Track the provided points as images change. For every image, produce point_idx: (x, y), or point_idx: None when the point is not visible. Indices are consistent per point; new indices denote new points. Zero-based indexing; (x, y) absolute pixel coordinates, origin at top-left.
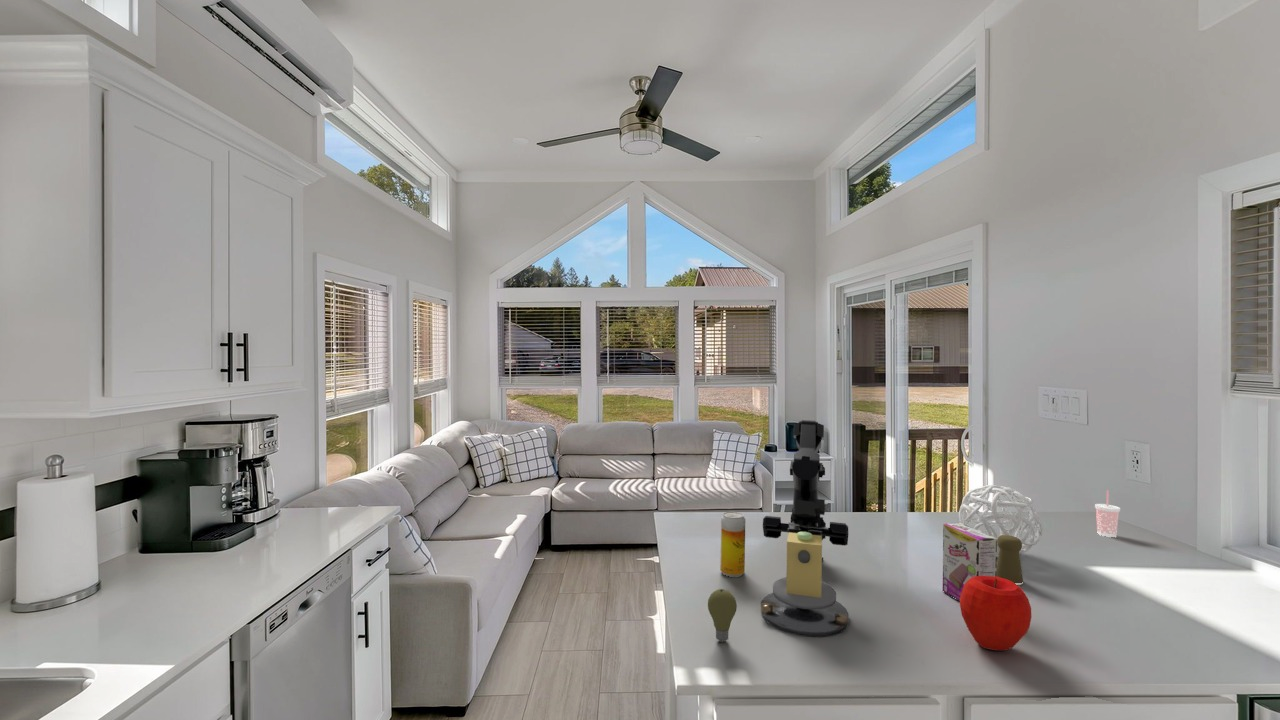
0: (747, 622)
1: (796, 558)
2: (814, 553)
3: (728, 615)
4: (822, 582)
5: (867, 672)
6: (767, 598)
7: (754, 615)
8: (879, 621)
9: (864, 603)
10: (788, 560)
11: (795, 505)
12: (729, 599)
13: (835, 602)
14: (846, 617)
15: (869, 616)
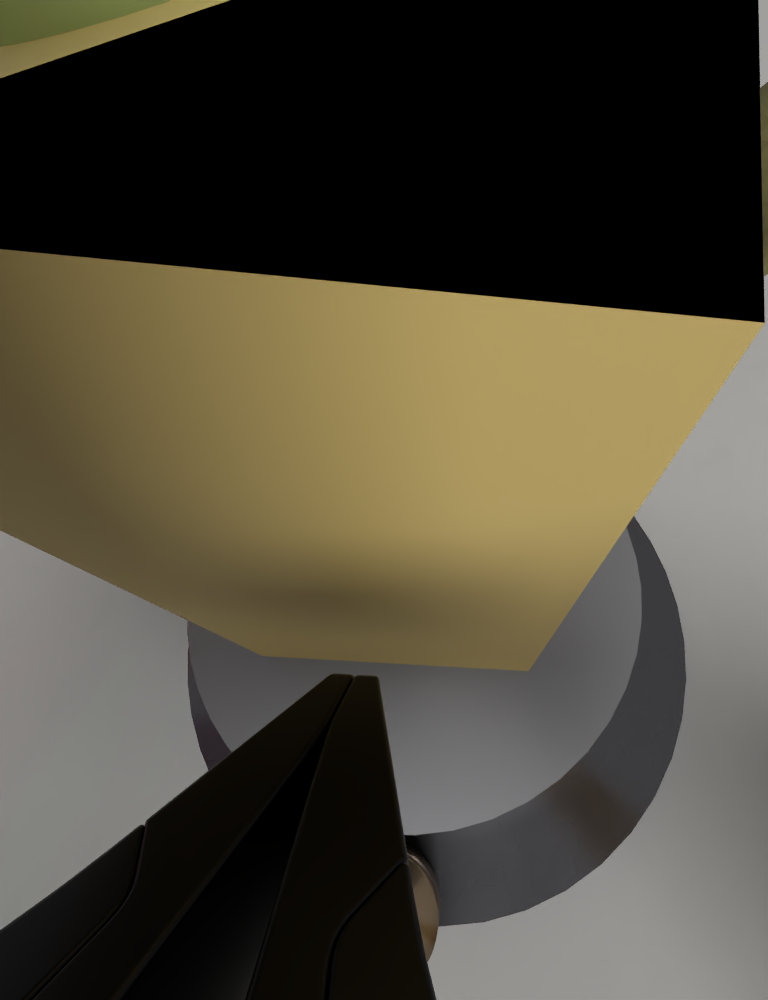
0: (673, 460)
1: (427, 218)
2: (192, 147)
3: None
4: (236, 728)
5: None
6: (654, 676)
7: (667, 534)
8: (79, 650)
9: (35, 893)
10: (521, 242)
11: None
12: (765, 85)
13: (218, 738)
14: None
15: (97, 695)
